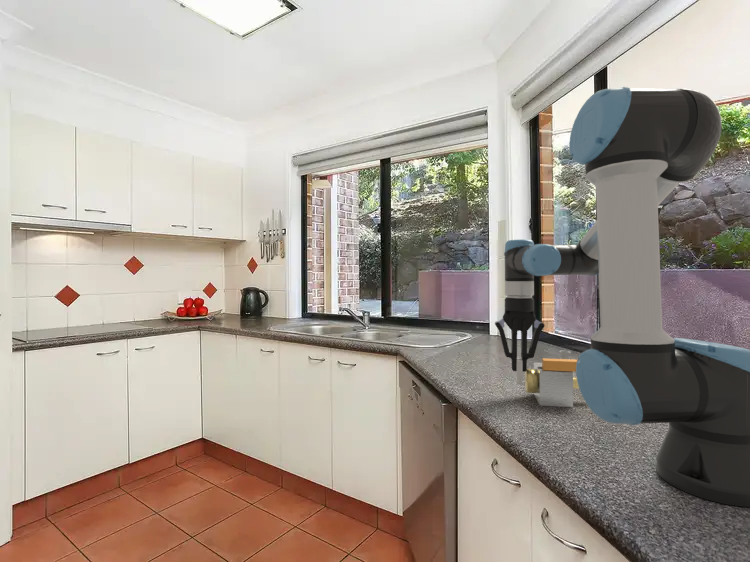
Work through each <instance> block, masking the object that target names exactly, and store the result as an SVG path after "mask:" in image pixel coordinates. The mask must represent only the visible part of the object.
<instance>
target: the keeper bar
mask: <svg viewBox="0 0 750 562" xmlns="http://www.w3.org/2000/svg"><path fill="white" fill-rule="evenodd" d="M579 356H580V355H577V359H575V358H573V359H572V358H571V359H560V358H545V357H544V358H541V363H542V368H543V370H550V371H573V373H574V372H575V373H576V364H577V361H578V360H579Z"/></svg>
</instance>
